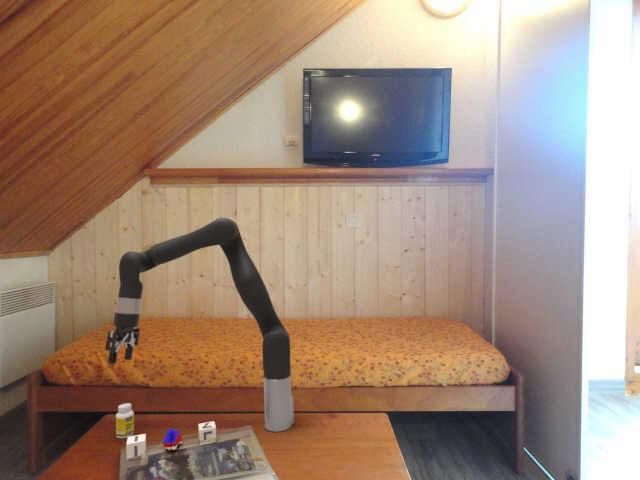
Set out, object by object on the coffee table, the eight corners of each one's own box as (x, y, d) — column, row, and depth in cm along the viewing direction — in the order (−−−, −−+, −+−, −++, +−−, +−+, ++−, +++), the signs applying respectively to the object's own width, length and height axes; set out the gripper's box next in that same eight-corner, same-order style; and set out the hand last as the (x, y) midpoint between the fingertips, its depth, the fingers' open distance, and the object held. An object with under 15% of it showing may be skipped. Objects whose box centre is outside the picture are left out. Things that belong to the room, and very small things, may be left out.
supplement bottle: (126, 439, 130) (126, 409, 130) (112, 438, 131) (111, 408, 131) (137, 431, 135) (137, 402, 136) (123, 430, 137) (122, 401, 137)
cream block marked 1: (146, 449, 123) (145, 433, 123) (145, 458, 119) (144, 440, 119) (128, 453, 122) (127, 436, 122) (126, 461, 117) (126, 444, 117)
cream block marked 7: (214, 436, 131) (214, 420, 131) (216, 443, 126) (215, 427, 126) (198, 439, 129) (198, 423, 129) (199, 446, 124) (199, 430, 124)
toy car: (166, 453, 124) (160, 436, 120) (172, 441, 127) (166, 424, 124) (178, 454, 123) (172, 436, 120) (183, 441, 127) (177, 424, 123)
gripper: (125, 313, 125) (117, 367, 123) (149, 311, 139) (142, 359, 138) (103, 311, 126) (95, 364, 124) (129, 309, 140) (122, 356, 138)
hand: (120, 361), depth 131 cm, fingers open, 8 cm apart
